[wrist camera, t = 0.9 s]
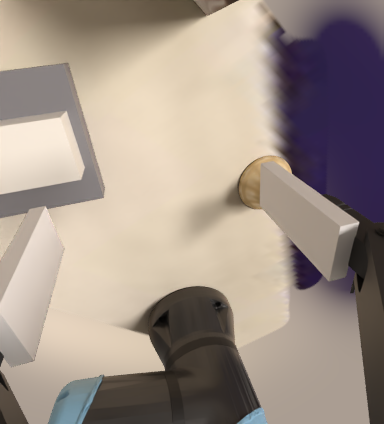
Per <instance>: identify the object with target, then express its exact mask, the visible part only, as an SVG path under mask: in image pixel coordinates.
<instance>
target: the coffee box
mask: <svg viewBox="0 0 384 424" xmlns="http://www.w3.org/2000/svg"><path fill="white" fill-rule="evenodd" d="M236 1H238V0H194V2H195V3H196V4H197V5H198V6H199V7H200V8H201V9H202V11H203V12H204V13H205V14H206V15H207V16H208V15H210V14H212V13H214V12H216V11H218V10H221V9H222V8H224V7H226V6H228V5H230V4H232V3H234V2H236Z"/></svg>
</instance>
